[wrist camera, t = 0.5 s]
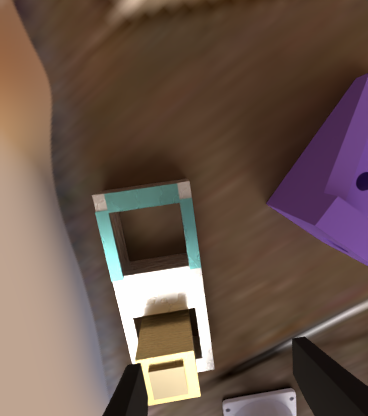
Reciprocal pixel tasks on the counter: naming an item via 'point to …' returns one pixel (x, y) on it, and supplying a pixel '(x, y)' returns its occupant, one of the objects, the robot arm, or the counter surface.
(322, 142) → the bracket
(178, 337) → the beige hollow block
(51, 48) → the counter surface
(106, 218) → the white compartment tray
